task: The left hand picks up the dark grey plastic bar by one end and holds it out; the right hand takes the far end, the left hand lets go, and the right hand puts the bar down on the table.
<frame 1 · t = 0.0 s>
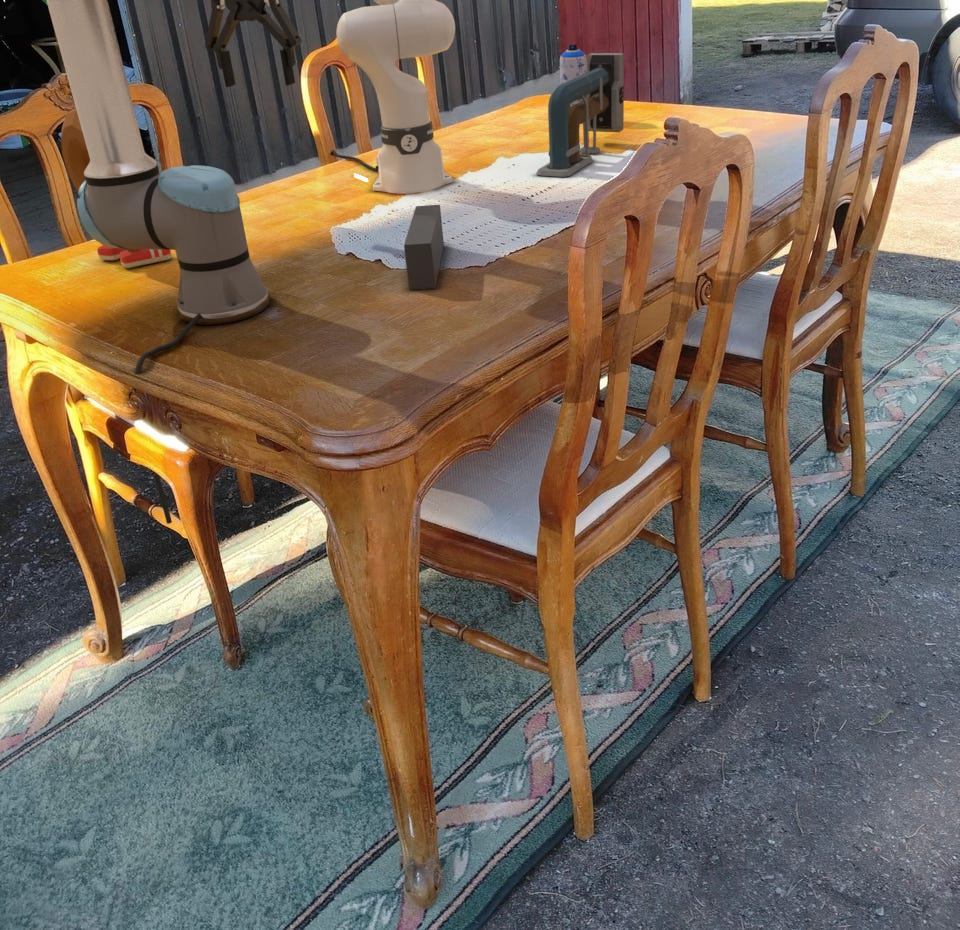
left hand: (260, 85, 196), 28 cm above the table, tool pointing down, fingers open, 13 cm apart
bar: (427, 266, 177), on the table
aerosol can: (574, 120, 278), on the table
toy: (134, 259, 195), on the table
clamp: (580, 158, 238), on the table
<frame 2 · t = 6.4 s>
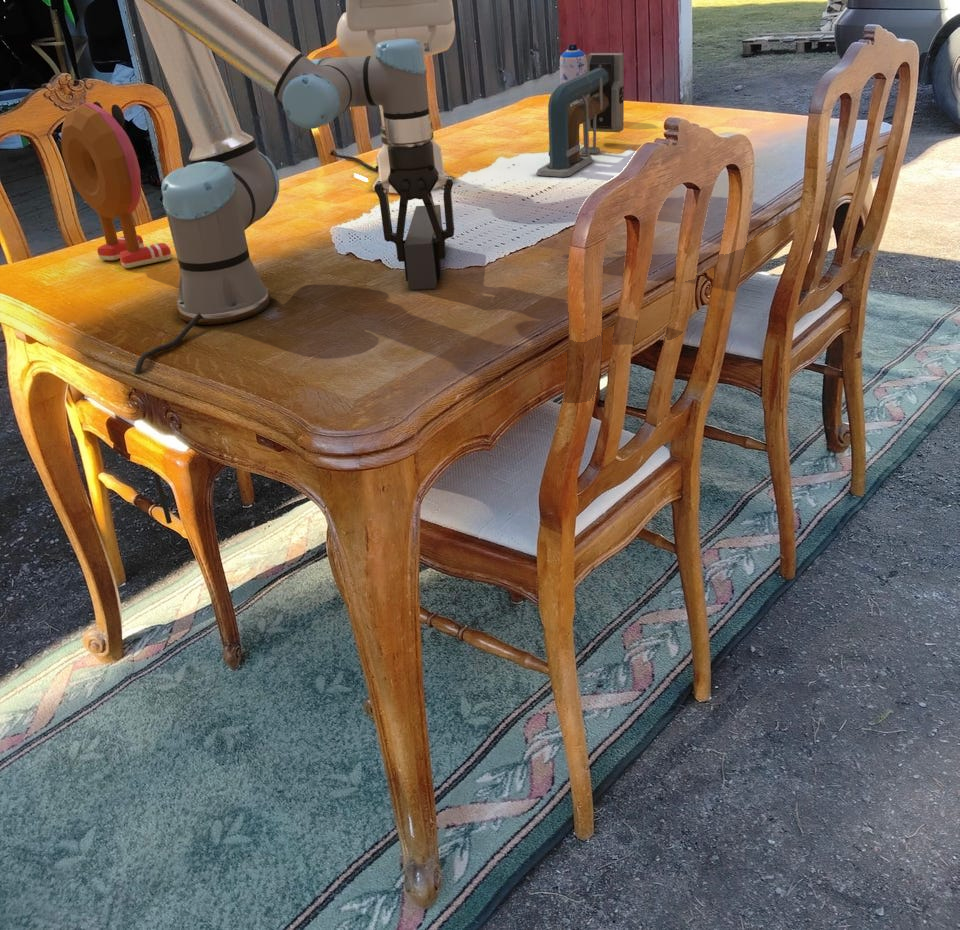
left hand: (424, 277, 171), 1 cm above the table, tool pointing down, fingers closed on bar, 5 cm apart
right hand: (404, 53, 186), 33 cm above the table, tool pointing down, fingers open, 8 cm apart
bar: (427, 266, 177), on the table, touching left hand
everything else where it was.
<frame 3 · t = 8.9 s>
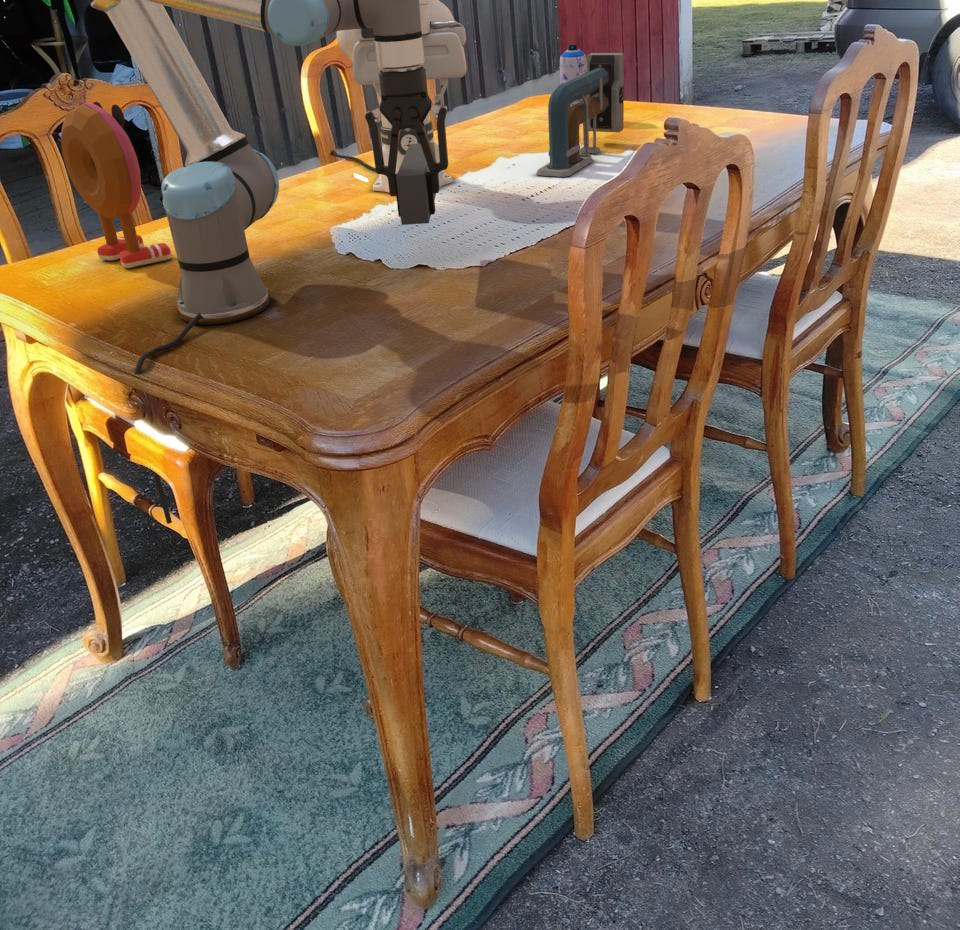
left hand: (417, 212, 165), 12 cm above the table, tool pointing down, fingers closed on bar, 5 cm apart
right hand: (414, 107, 175), 26 cm above the table, tool pointing down, fingers open, 8 cm apart
bar: (420, 204, 171), point 11 cm above the table, touching left hand
everything else where it was.
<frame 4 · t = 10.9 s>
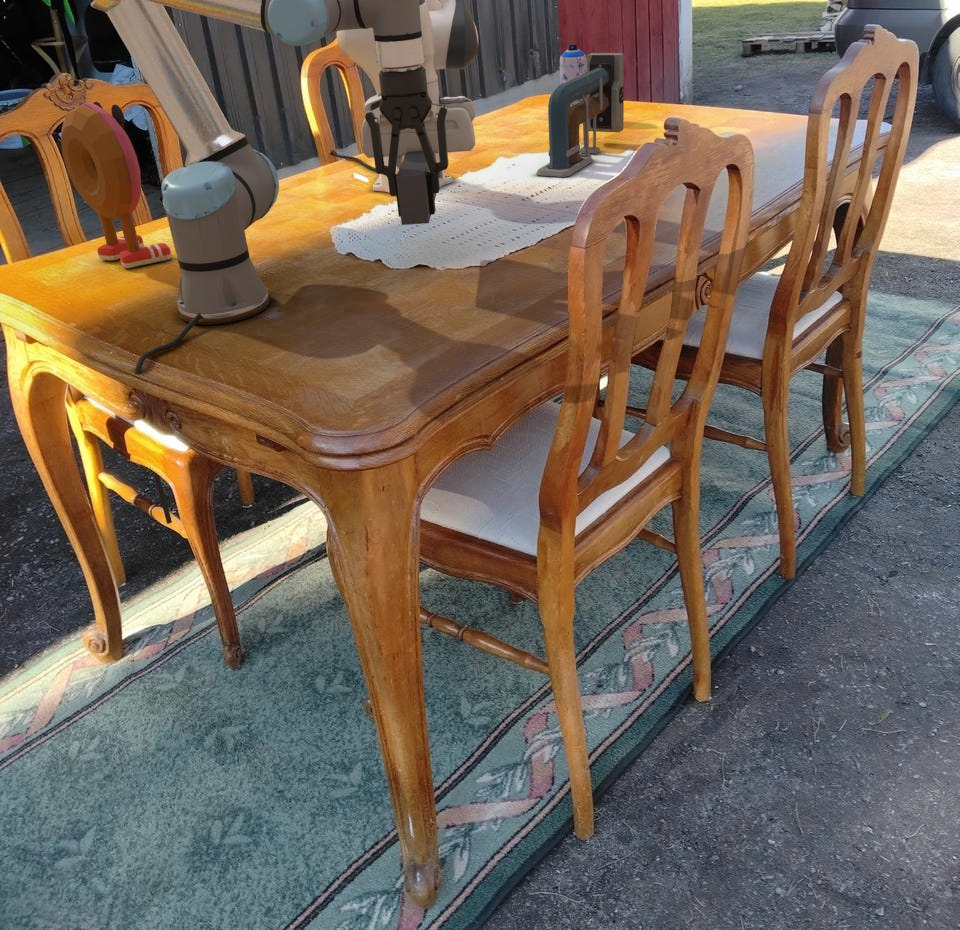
left hand: (417, 212, 165), 12 cm above the table, tool pointing down, fingers closed on bar, 5 cm apart
right hand: (422, 178, 176), 14 cm above the table, tool pointing down, fingers closed on bar, 4 cm apart
bar: (421, 204, 171), point 11 cm above the table, touching left hand, right hand
everything else where it was.
when the left hand's fingers open (12 cm above the table, at t = 11.7 s): bar stays where it is, held by the right hand.
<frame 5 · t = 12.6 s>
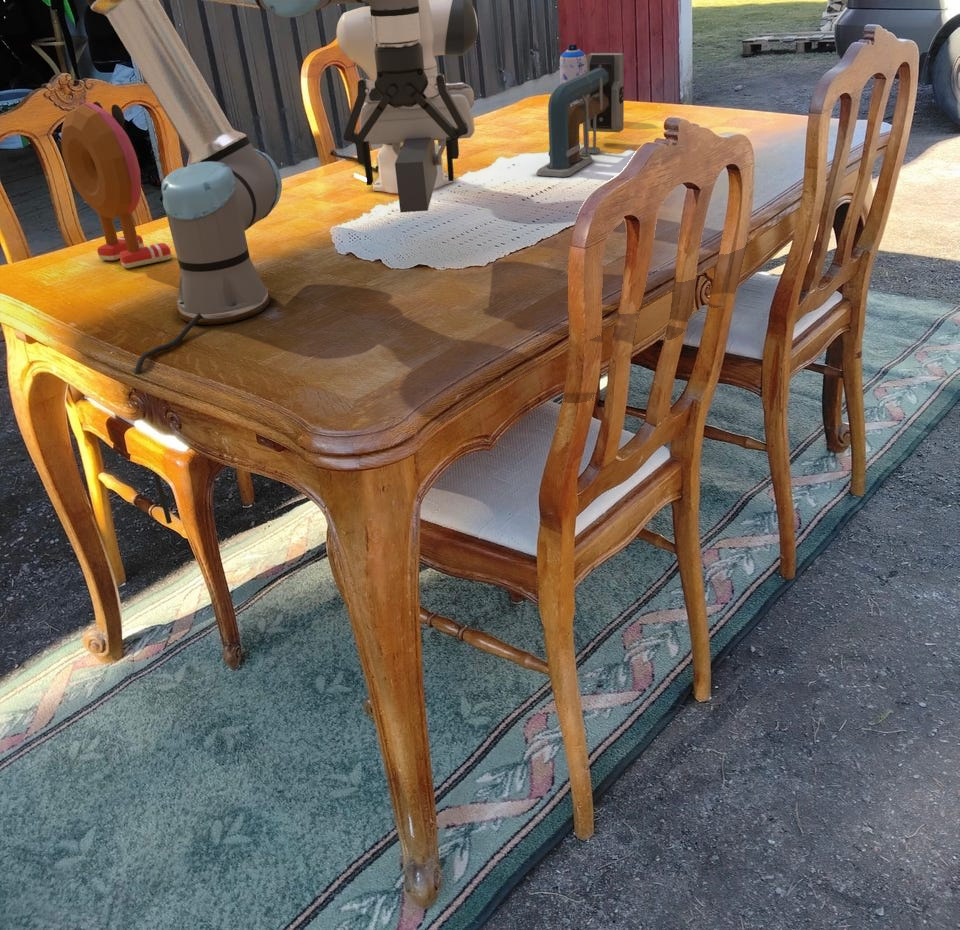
left hand: (410, 181, 161), 18 cm above the table, tool pointing down, fingers open, 13 cm apart
right hand: (421, 165, 175), 16 cm above the table, tool pointing down, fingers closed on bar, 4 cm apart
bar: (420, 192, 171), point 14 cm above the table, touching right hand
everything else where it was.
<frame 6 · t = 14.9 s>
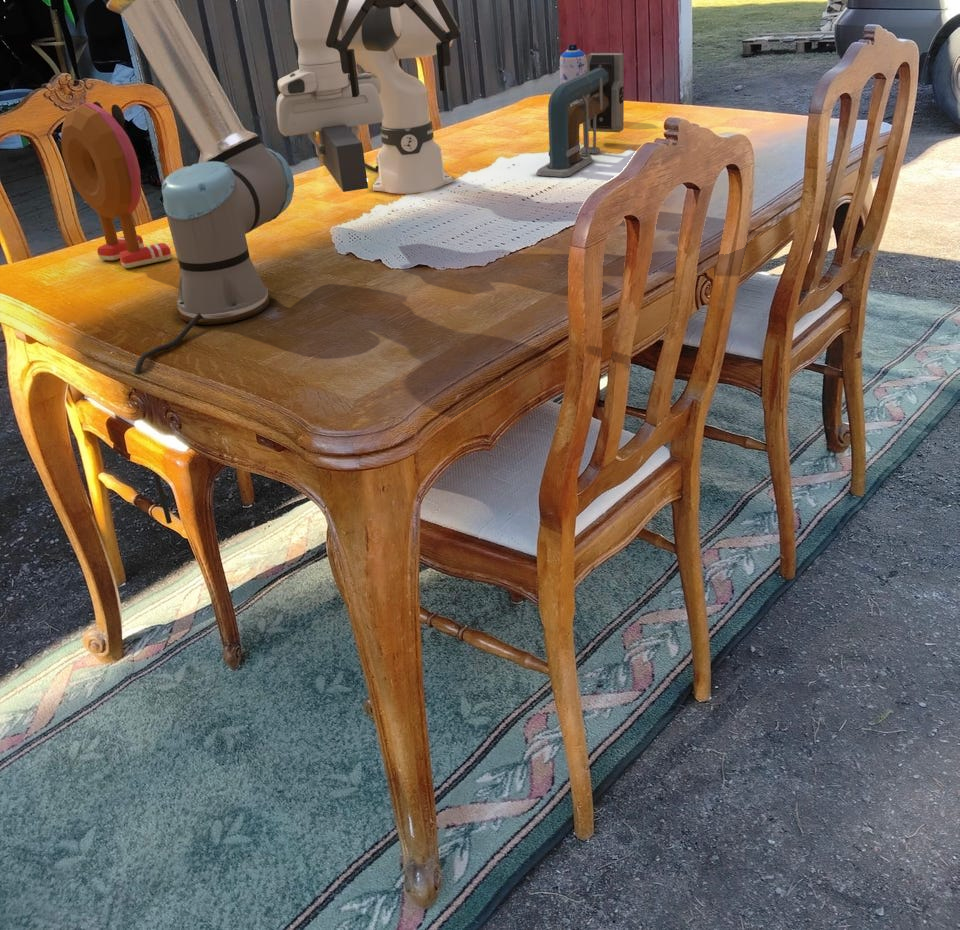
left hand: (399, 92, 149), 33 cm above the table, tool pointing down, fingers open, 13 cm apart
right hand: (335, 152, 188), 17 cm above the table, tool pointing down, fingers closed on bar, 4 cm apart
bar: (344, 175, 184), point 14 cm above the table, touching right hand
everything else where it was.
when the right hand's fingers open (4 cm above the table, at t = 19.0 s): bar drops 1 cm, on the table.
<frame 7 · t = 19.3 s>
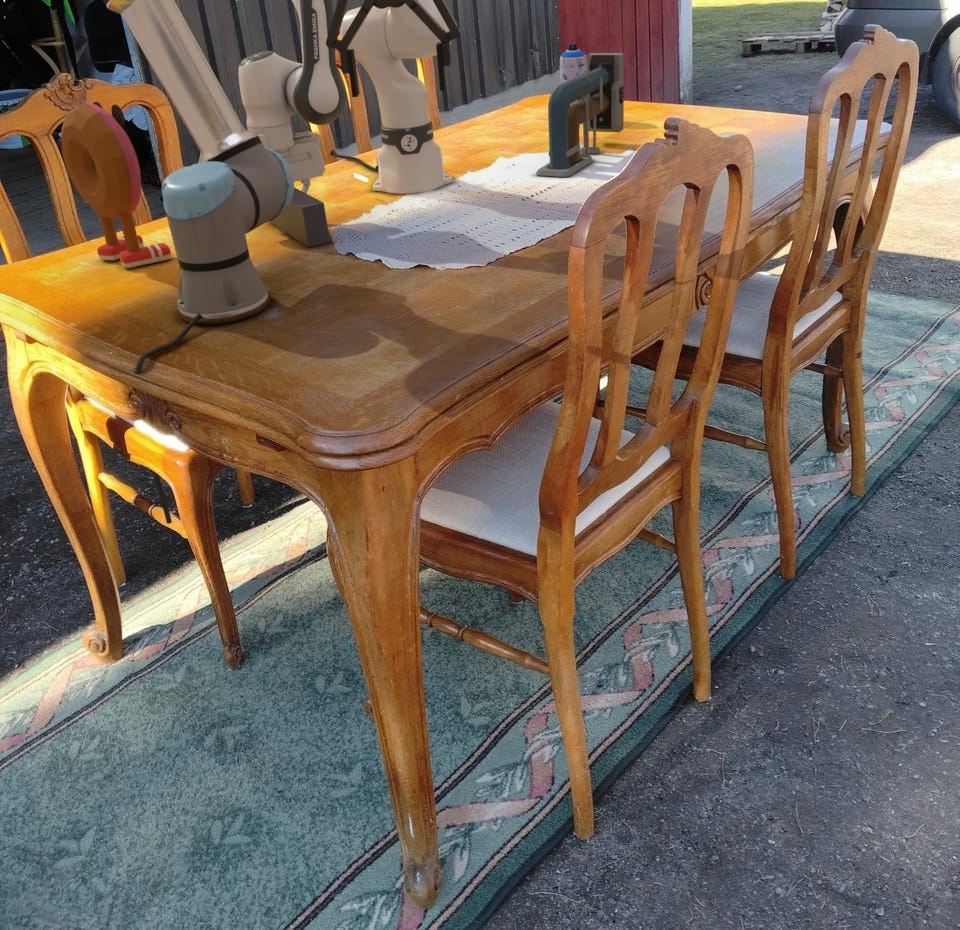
left hand: (399, 92, 149), 33 cm above the table, tool pointing down, fingers open, 13 cm apart
right hand: (283, 205, 205), 4 cm above the table, tool pointing down, fingers open, 8 cm apart
bar: (298, 232, 202), on the table
everything else where it was.
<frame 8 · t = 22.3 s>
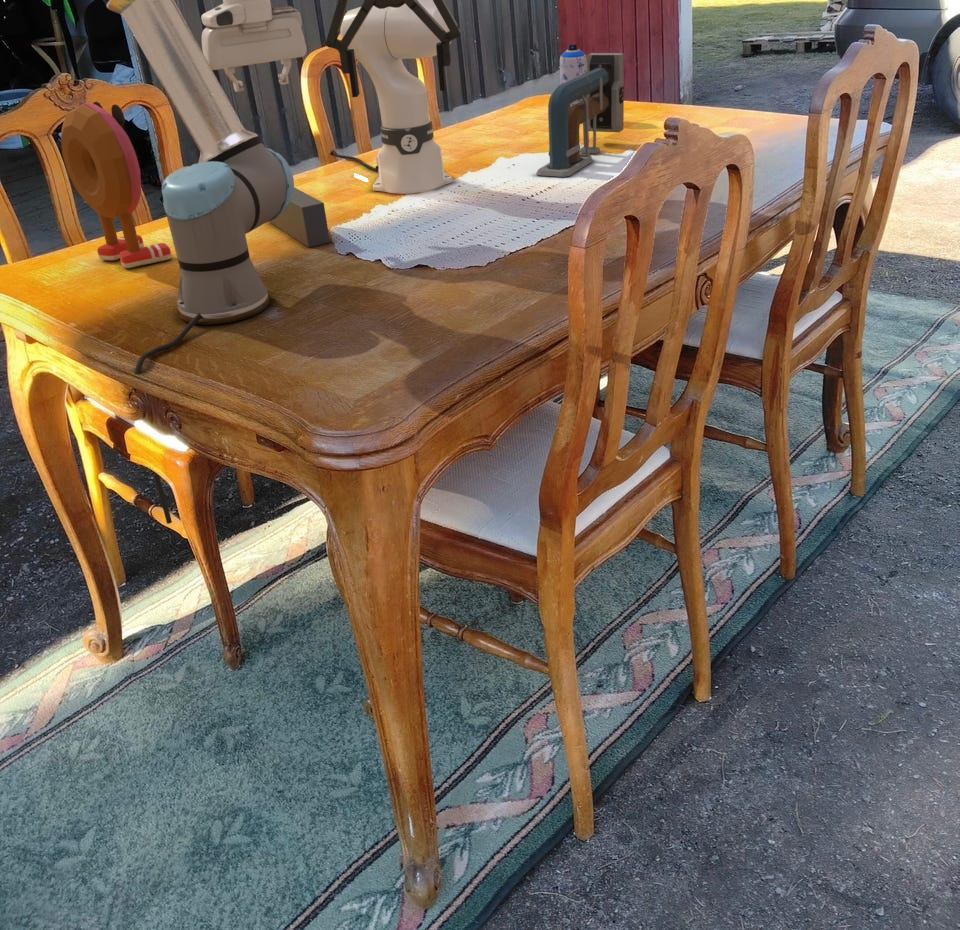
left hand: (399, 92, 149), 33 cm above the table, tool pointing down, fingers open, 13 cm apart
right hand: (262, 87, 193), 28 cm above the table, tool pointing down, fingers open, 8 cm apart
nothing on the table moved.
at the end: bar inside the target area (6.9 cm from its centre), on the table; the left hand is holding nothing; the right hand is holding nothing; bar at rest at the end (0.0 cm/s) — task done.
